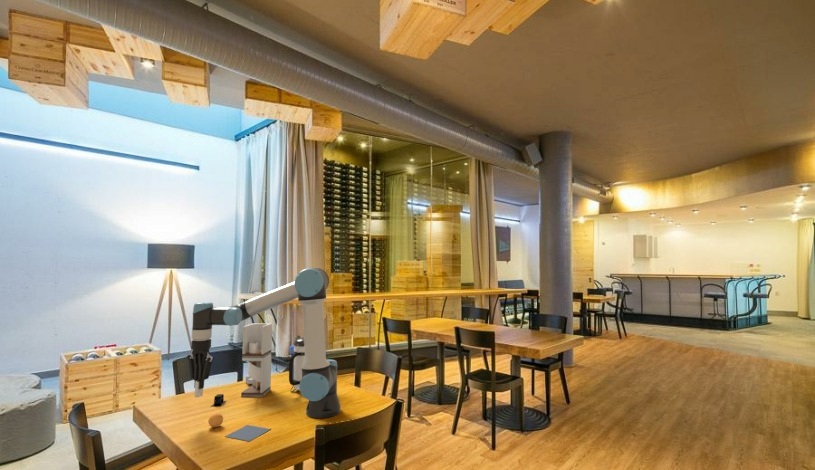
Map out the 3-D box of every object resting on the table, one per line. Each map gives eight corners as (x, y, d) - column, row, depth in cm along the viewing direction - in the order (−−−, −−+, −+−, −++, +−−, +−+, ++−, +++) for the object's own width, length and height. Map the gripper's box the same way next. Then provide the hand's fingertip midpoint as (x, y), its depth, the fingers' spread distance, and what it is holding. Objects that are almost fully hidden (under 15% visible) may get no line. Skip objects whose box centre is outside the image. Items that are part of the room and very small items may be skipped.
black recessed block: (221, 409, 186) (221, 399, 186) (205, 409, 185) (205, 399, 186) (230, 400, 198) (231, 391, 199) (215, 400, 198) (216, 391, 198)
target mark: (271, 429, 161) (271, 429, 161) (249, 441, 150) (249, 441, 150) (247, 425, 165) (247, 424, 165) (224, 436, 154) (224, 436, 154)
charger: (240, 387, 219) (252, 379, 234) (257, 387, 219) (267, 379, 234) (240, 378, 220) (252, 371, 235) (257, 378, 219) (267, 371, 234)
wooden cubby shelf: (250, 389, 213) (252, 323, 216) (270, 390, 213) (272, 323, 216) (241, 396, 202) (243, 326, 205) (261, 397, 202) (263, 326, 204)
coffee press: (288, 387, 217) (289, 331, 219) (318, 385, 222) (318, 330, 224) (288, 397, 200) (289, 336, 203) (321, 394, 205) (321, 335, 208)
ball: (226, 425, 165) (226, 411, 166) (215, 430, 160) (215, 416, 160) (215, 423, 167) (216, 410, 168) (204, 428, 162) (205, 414, 162)
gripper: (220, 338, 171) (217, 395, 169) (197, 336, 176) (194, 391, 174) (205, 341, 164) (202, 401, 162) (182, 339, 169) (179, 397, 167)
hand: (198, 396), depth 168 cm, fingers closed
